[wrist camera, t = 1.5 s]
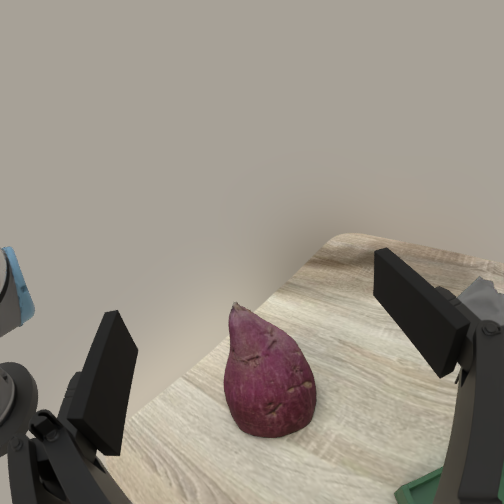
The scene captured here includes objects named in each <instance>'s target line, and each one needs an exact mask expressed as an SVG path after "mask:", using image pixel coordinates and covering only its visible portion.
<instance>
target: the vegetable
mask: <svg viewBox="0 0 504 504" xmlns="http://www.w3.org/2000/svg"><path fill="white" fill-rule="evenodd" d="M229 334H230V343H229V344H230V353H229V357H228V361H227V364H226V369H225V374H224V392H225V396H226V401H227V404H228V406H229V409H230V412H231V415H232V417H233V419H234V421H235V422H236V424H237V425H238V427H239V428H240V429H241V430H242V431H244V432H246V433H248V434H251V435H253V436H259V437H267V438H277V437H282V436H285V435H288V434H291V433H293V432H296V431H298V430H300V429H302V428H304V427H305V426H306V425H308V424H309V422H310V421H311V420H312V417H313V413H314V409H315V405H316V386H315V381H314V376H313V373H312V371H311V369H310V366H309V364H308V362H307V361H306V359H305V357H304V355H303V353H302V351H301V349H300V348H299V347H298V345H297V343H296V342H295V341H294V339H293V338H291V337H290V336H289V335H288V334H287V333H286V332H284V331H283V330H281V329H279V328H278V327H276V326H274V325H273V324H271V323H269V322H267V321H265V320H263V319H262V318H260V317H259V316H258V315H256V314H254V313H252V312H251V311H250V310H248V309H246V308H245V307H243V306H240V305H239V304H238V303H237V302H234V303H233V306H232V309H231V312H230V315H229Z"/></svg>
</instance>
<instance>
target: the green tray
mask: <svg viewBox="0 0 504 504" xmlns="http://www.w3.org/2000/svg"><path fill="white" fill-rule="evenodd" d="M443 467H444V466H443ZM443 467H441V468H439V469H437V470H435V471H433V472H431V473H429V474H427V475H425V476H423V477H421V478H419V479H417V480H415V481H412V482H410V483H408V484H406V485H403V486H401V487H400V488H399V489H398V490H397V491H396V492H395V493H394V494H395V497H396V500H397V502H398V504H432V503H433V500H434V497H435V494H436V491H437V488H438V484H439V481H440V478H441V474H442V470H443ZM498 498H499V499H500V500H501V501H502V504H504V462H503V469H502V475H501V481H500V486H499V491H498Z"/></svg>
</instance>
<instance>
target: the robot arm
mask: <svg viewBox="0 0 504 504" xmlns="http://www.w3.org/2000/svg"><path fill="white" fill-rule="evenodd" d="M373 296H374V297H375V298H376V299H377V300H378V301H379V303H380V304H381V305H382V306H383V307H384V309H385V310H386V311H387V312H388V313H389V315H390V316H391V317H392V318H393V320H394V321H395V322H396V323H397V324H398V326H399V327H400V328H401V329H402V331H403V332H404V333H405V334H406V336H407V337H408V338H409V339H410V341H411V342H412V343H413V344H414V346H415V347H416V348H417V350H418V351H419V352H420V353H421V355H422V356H423V357H424V359H425V360H426V361H427V362H428V364H429V365H430V366H431V368H432V369H433V370H434V372H435V373H436V374H437V376H438V377H439V378H442V377H444V376H446V375H448V374H450V373H451V372H453V371H454V368H455V366H456V363H457V362H458V363H459V364H460V366H461V369H460V372H459V374H458V376H457V379H456V381H455V384H457V383H458V380H459V383H458V392H457V400H456V407H455V414H454V420H453V426H452V431H451V436H450V441H449V446H448V450H447V454H446V459H445V463H444V467H443V470H442V474H441V478H440V481H439V484H438V488H437V491H436V494H435V497H434V500H433V503H432V504H502V501H501V500H500V499H499V498H498V491H499V486H500V481H501V475H502V469H503V462H504V325H502V326H500V324H499V323H497V322H495V321H493V320H481V319H480V318H479V317H478V316H477V315H475V314H474V313H473V312H472V311H471V310H470V309H469V308H468V307H467V306H466V305H465V304H464V303H462V302H461V301H460V300H459V299H458V298H456V296H455V295H453V294H452V293H451V292H450V291H449V290H447V289H445V288H442V287H440V286H439V287H436V288H434V287H433V286H432V285H430V284H429V283H428V282H427V281H426V280H425V279H424V278H422V277H421V276H420V275H419V274H418V273H417V272H416V271H414V270H413V269H412V268H411V267H410V266H409V265H407V264H406V263H405V262H404V261H403V260H401V259H400V258H399V257H398V256H397V255H395V254H394V253H393V252H392V251H391V250H389V249H388V248H383V249H379V250H376V251H374V290H373ZM34 312H35V307H34V304H33V301H32V299H31V296H30V294H29V291H28V289H27V287H26V284H25V281H24V278H23V275H22V273H21V270H20V267H19V264H18V261H17V258H16V256H15V253H14V250H13V249H12V247H6V248H5V247H4V248H2V249H1V248H0V337H2V336H3V335H5V334H7V333H8V332H10V331H11V330H13V329H15V328H16V327H18V326H19V327H20V326H22V325H23V323H24V322H26V321H27V320H29V319H30V318H31V317H32V316H33V315H34ZM137 355H138V348H137V347H136V345H135V343H134V341H133V339H132V337H131V335H130V333H129V332H128V329H127V328H126V326H125V324H124V322H123V320H122V318H121V316H120V313H119V312H118V310H116V311H110V312H105V314H104V316H103V319H102V321H101V323H100V326H99V328H98V331H97V333H96V336H95V338H94V341H93V343H92V345H91V348H90V351H89V353H88V356H87V358H86V361H85V364H84V367H83V369H82V372H76V373H75V375H74V376H73V377H72V379H71V380H70V382H69V385H68V388H67V391H66V393H65V398H64V399H63V402H62V405H61V408H60V411H59V414H58V417H57V418H56V417H55V416H54V415H53V414H52V413H51V412H50V411H49V410H46V409H45V410H40V411H38V412H36V413H35V414H34V415H33V416H32V417H31V419H30V420H29V424H28V429H29V431H30V432H31V433H32V434H33V435H34V436H35V437H36V438H33V439H29V438H28V437H27V436H26V435H25V434H24V433H16V434H15V435H13V436H12V437H11V438H10V440H9V442H8V446H7V454H8V470H9V480H10V489H11V496H12V503H13V504H132V503H131V501H130V500H129V499H128V498H127V496H126V495H125V494H124V493H123V491H122V490H121V489H120V487H119V486H118V485H117V483H116V482H115V481H114V479H113V478H112V476H111V475H110V474H109V472H108V471H107V469H106V468H105V467H104V465H103V464H102V462H101V461H100V459H99V458H98V457H97V456H96V452H97V449H98V450H99V451H100V452H101V453H103V455H105V456H120V452H121V445H122V438H123V431H124V424H125V418H126V412H127V406H128V400H129V394H130V389H131V384H132V379H133V374H134V368H135V364H136V359H137ZM16 399H17V387H16V384H15V382H14V380H13V379H12V378H11V377H10V375H9V374H8V373H7V372H6V371H4V370H3V369H2V368H0V427H2V425H3V424H4V423H5V422H6V421H7V419H8V418H9V416H10V415H11V413H12V411H13V409H14V406H15V403H16Z"/></svg>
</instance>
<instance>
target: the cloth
mask: <svg viewBox="0 0 504 504" xmlns="http://www.w3.org/2000/svg"><path fill="white" fill-rule="evenodd" d="M457 298H458V299H459V300H460V301H461V302H462V303H464V304H465V305H466V306H467V307H468V308H469V309H470V310H471V311H472V312H473V313H474V314H475V315H477V316H478V317H479V318H480V319H481V320H493V321H495V322H497V323H499V324H500V326H502V325H504V294H501V293H497V290H496V289H494V284H493V281H489V280H483V279H482V278H481V277H480V276H479V277H478V278H477V279H476V280H475V281H474V282H473V283H472V284H471V285H470V286H469V287H468V288H467V289H465V290H464V291H463V292H462V293H461V294H460V295H459V296H458V297H457Z"/></svg>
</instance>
